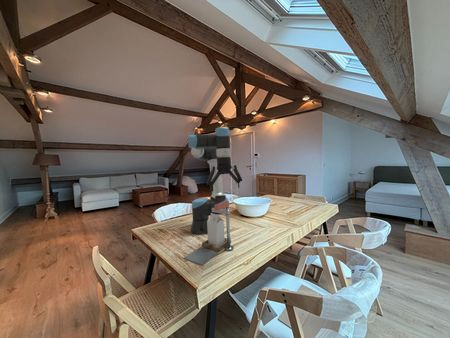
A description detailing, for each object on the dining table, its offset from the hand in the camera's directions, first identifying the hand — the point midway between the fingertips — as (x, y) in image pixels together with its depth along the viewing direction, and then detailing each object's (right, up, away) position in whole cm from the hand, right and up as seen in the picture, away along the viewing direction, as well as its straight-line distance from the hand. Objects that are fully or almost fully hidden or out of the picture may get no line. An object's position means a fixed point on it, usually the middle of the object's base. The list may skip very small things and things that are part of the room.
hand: (225, 195), depth 101 cm
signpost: (-4, -31, +4) cm, 31 cm away
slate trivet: (-13, -32, -1) cm, 35 cm away
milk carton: (-5, -31, +10) cm, 33 cm away
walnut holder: (-5, -31, +10) cm, 33 cm away
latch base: (+2, -31, +5) cm, 32 cm away
